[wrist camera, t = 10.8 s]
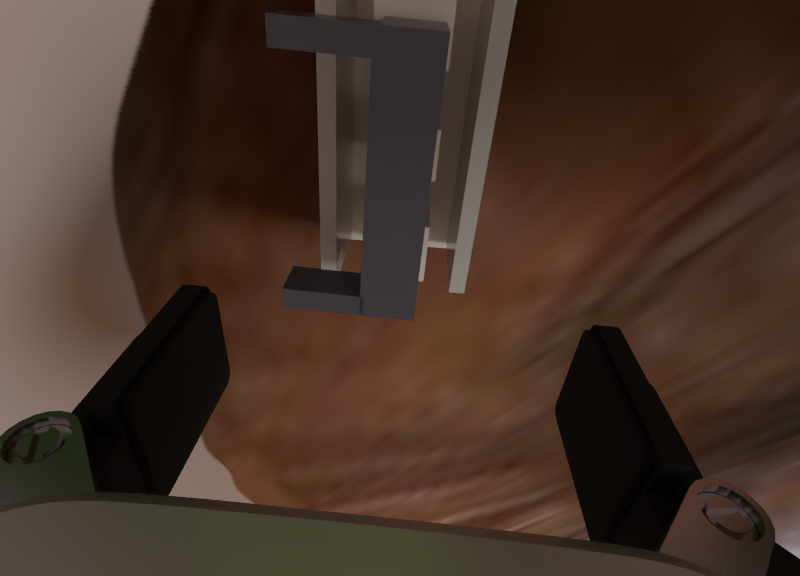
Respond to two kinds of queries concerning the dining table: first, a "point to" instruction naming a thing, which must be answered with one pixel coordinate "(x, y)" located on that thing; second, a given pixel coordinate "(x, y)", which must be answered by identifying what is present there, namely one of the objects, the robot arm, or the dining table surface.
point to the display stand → (457, 131)
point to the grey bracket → (379, 155)
